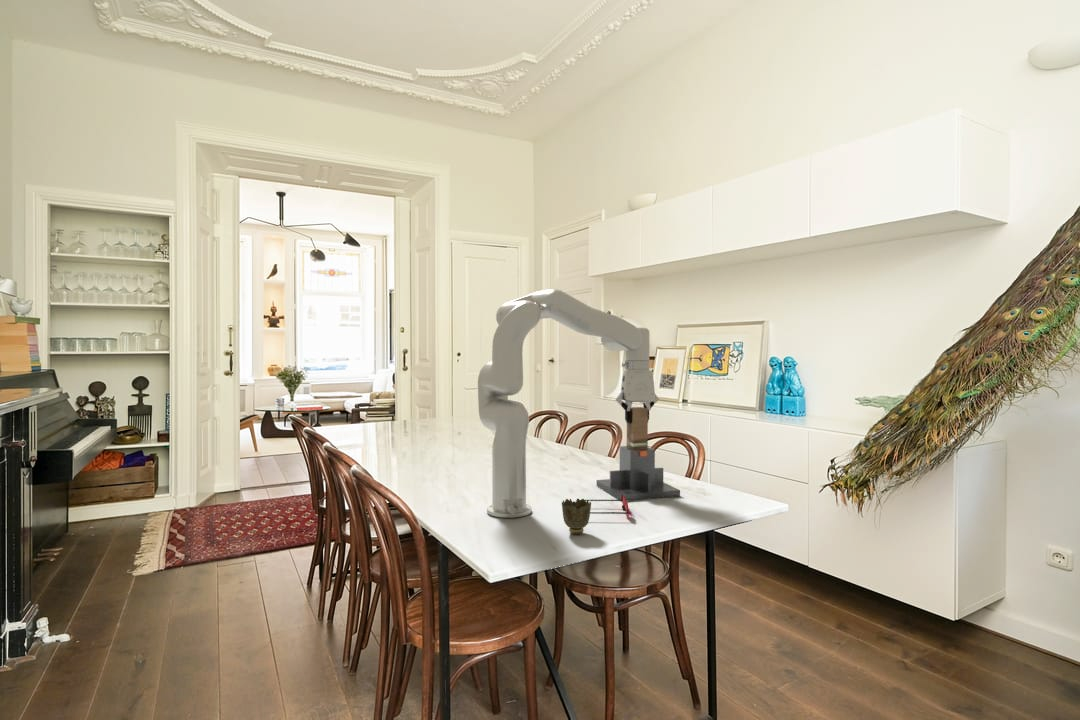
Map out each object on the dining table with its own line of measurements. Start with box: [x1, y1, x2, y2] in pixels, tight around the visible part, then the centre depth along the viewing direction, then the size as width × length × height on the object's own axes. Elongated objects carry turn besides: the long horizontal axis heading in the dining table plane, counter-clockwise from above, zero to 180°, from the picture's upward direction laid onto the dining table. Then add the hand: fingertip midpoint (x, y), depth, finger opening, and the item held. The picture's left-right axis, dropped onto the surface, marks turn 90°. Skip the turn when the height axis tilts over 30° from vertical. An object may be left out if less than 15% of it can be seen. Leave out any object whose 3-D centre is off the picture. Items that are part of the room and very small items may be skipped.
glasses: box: [584, 494, 633, 520], centre depth 168 cm, size 14×16×5 cm
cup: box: [561, 498, 592, 536], centre depth 151 cm, size 8×7×8 cm
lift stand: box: [596, 445, 681, 502], centre depth 194 cm, size 20×20×14 cm
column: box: [626, 406, 649, 450], centre depth 193 cm, size 5×5×19 cm
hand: (637, 422), depth 193 cm, fingers closed on column, 5 cm apart
